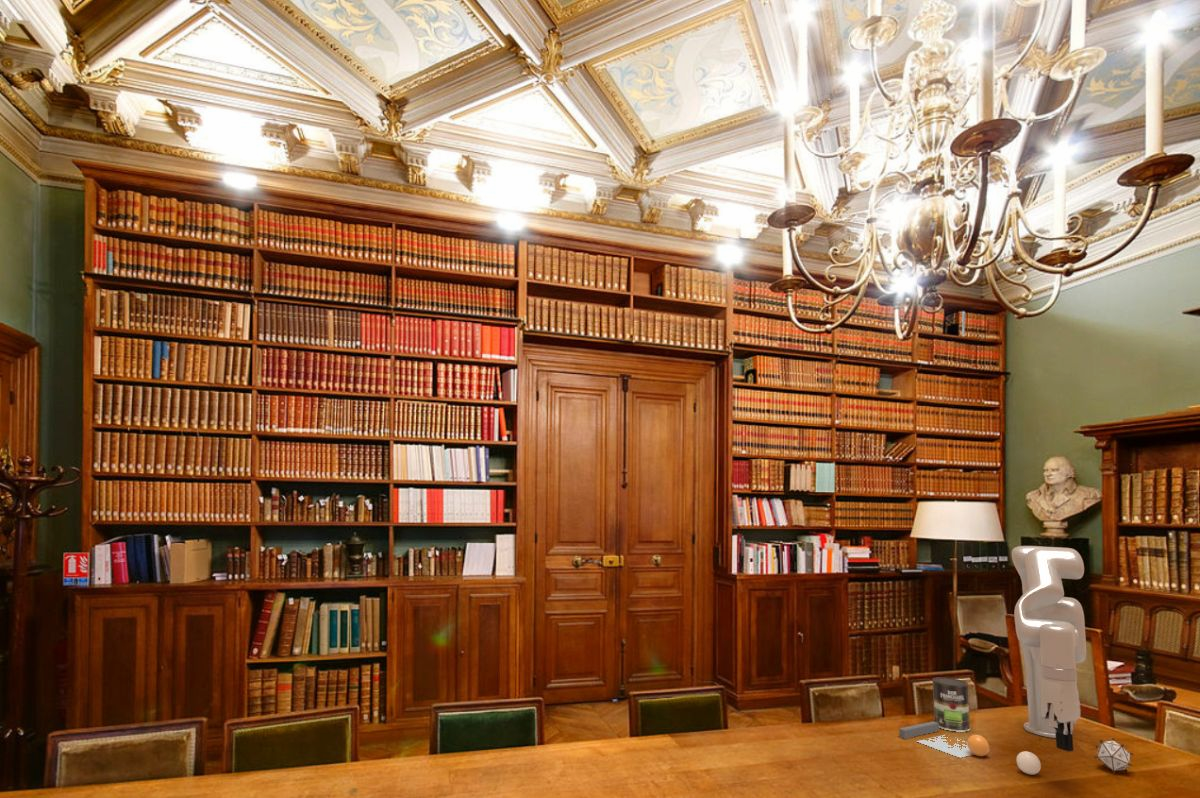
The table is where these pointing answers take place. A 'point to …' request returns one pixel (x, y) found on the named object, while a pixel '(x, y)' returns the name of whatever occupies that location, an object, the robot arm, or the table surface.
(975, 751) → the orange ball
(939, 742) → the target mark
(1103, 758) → the game die
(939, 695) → the coffee can
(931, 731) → the bar
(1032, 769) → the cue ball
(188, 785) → the table surface
